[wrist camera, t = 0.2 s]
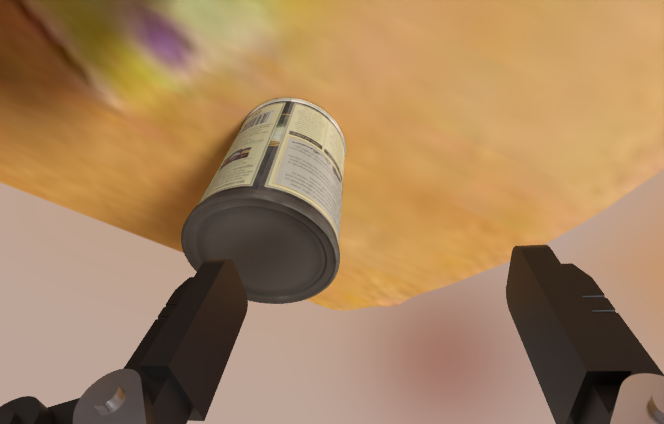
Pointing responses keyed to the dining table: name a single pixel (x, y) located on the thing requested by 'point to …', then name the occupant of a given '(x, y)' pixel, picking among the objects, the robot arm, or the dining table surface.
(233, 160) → the coffee can
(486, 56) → the dining table surface
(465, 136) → the dining table surface
